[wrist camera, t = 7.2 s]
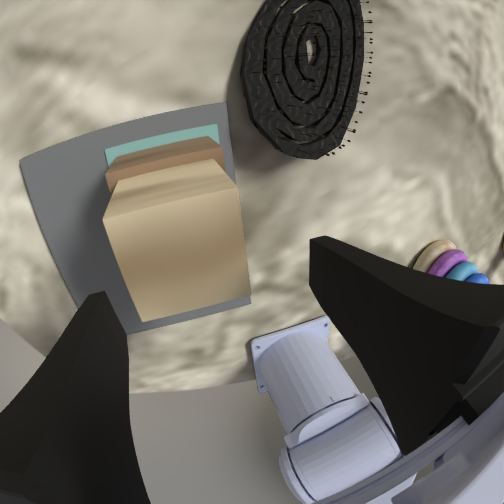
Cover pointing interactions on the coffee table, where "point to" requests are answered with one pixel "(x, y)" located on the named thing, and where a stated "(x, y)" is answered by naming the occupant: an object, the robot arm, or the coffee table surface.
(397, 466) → the robot arm
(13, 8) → the coffee table surface
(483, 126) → the coffee table surface
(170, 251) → the birch block
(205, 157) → the walnut block
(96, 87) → the coffee table surface
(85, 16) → the coffee table surface
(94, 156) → the mat
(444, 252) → the stacking toy
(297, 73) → the hairbrush
